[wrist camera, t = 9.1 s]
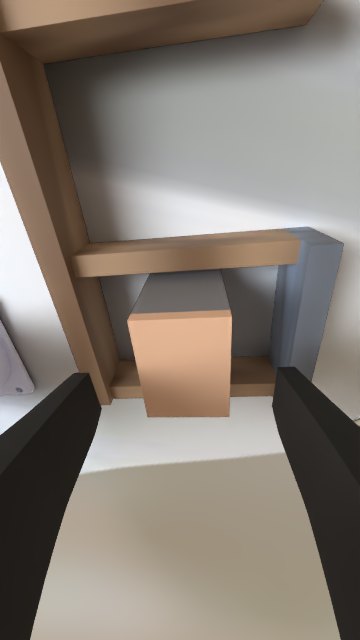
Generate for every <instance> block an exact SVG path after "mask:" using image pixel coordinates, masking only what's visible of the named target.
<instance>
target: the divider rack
mask: <svg viewBox="0 0 360 640" xmlns="http://www.w3.org/2000/svg"><path fill="white" fill-rule="evenodd" d="M323 1H324V0H0V162H1V165H2V167H3V170H4V173H5V175H6V178H7V181H8V183H9V186H10V189H11V191H12V194H13V197H14V199H15V202H16V205H17V207H18V210H19V213H20V215H21V218H22V221H23V223H24V226H25V229H26V231H27V234H28V237H29V239H30V242H31V245H32V247H33V250H34V253H35V255H36V258H37V261H38V263H39V266H40V269H41V271H42V274H43V277H44V279H45V282H46V285H47V287H48V290H49V293H50V295H51V298H52V301H53V303H54V306H55V309H56V311H57V314H58V317H59V319H60V322H61V325H62V327H63V330H64V333H65V335H66V338H67V341H68V343H69V346H70V349H71V351H72V354H73V357H74V359H75V362H76V365H77V367H78V370H79V373H89V374H90V377H91V380H92V383H93V385H94V388H95V391H96V394H97V397H98V400H99V403H100V405H111V403H112V400H113V399H119V398H144V397H143V393H142V388H141V383H140V379H139V374H138V369H137V365H136V360H122V361H120V357H119V354H118V350H117V346H116V342H115V338H114V334H113V331H112V327H111V323H110V319H109V315H108V311H107V307H106V304H105V300H104V296H103V292H102V288H101V284H100V281H99V277H98V276H110V275H126V274H142V273H157V272H173V271H189V270H205V269H221V268H236V267H252V266H268V265H279V267H278V276H277V284H276V293H275V302H274V311H273V320H272V328H271V337H270V346H269V355H268V356H254V357H231V371H230V397H247V396H274V388H275V381H276V374H277V367H294V366H295V367H296V368H297V369H298V370H299V371H300V372H301V373H302V374H303V375H304V376H305V377H306V378H307V379H308V380H309V381H310V382H311V381H312V377H313V373H314V369H315V364H316V360H317V356H318V352H319V348H320V343H321V339H322V335H323V331H324V326H325V322H326V318H327V314H328V310H329V305H330V301H331V297H332V293H333V288H334V284H335V280H336V276H337V272H338V267H339V263H340V259H341V255H342V251H343V246H344V243H342V242H340V241H338V240H336V239H333V238H331V237H329V236H327V235H325V234H323V233H320V232H318V231H316V230H314V229H312V228H310V227H298V228H285V229H272V230H259V231H246V232H233V233H220V234H207V235H194V236H180V237H167V238H154V239H141V240H128V241H115V242H102V243H90V242H89V238H88V234H87V231H86V227H85V223H84V219H83V215H82V211H81V208H80V204H79V200H78V196H77V192H76V188H75V184H74V181H73V177H72V173H71V169H70V165H69V161H68V158H67V154H66V150H65V146H64V142H63V138H62V134H61V131H60V127H59V123H58V119H57V115H56V111H55V108H54V104H53V100H52V96H51V92H50V88H49V84H48V81H47V77H46V73H45V69H44V65H43V64H45V63H52V62H58V61H65V60H72V59H79V58H85V57H92V56H99V55H105V54H112V53H119V52H126V51H132V50H139V49H146V48H152V47H159V46H166V45H173V44H179V43H186V42H193V41H199V40H206V39H213V38H220V37H226V36H233V35H240V34H246V33H253V32H260V31H267V30H273V29H280V28H287V27H293V26H300V25H306V24H307V23H308V21H309V20H310V18H311V17H312V16H313V14H314V13H315V12H316V10H317V9H318V7H319V6H320V5H321V3H322V2H323Z"/></svg>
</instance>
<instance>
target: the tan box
mask: <svg viewBox="0 0 360 640" xmlns="http://www.w3.org/2000/svg"><path fill="white" fill-rule="evenodd" d="M127 323H128V327H129V332H130V337H131V341H132V346H133V351H134V355H135V360H136V365H137V369H138V374H139V379H140V383H141V388H142V393H143V397H144V402H145V407H146V411H147V416H148V417H229V406H230V371H231V337H232V314H231V310H230V306H229V302H228V298H227V294H226V290H225V286H224V282H223V278H222V274H221V270H220V269H205V270H189V271H173V272H157V273H150V274H149V276H148V278H147V280H146V283H145V285H144V287H143V289H142V291H141V293H140V295H139V297H138V299H137V301H136V303H135V306H134V308H133V310H132V312H131V314H130V316H129V318H128V320H127Z"/></svg>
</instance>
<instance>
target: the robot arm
mask: <svg viewBox="0 0 360 640" xmlns="http://www.w3.org/2000/svg"><path fill="white" fill-rule="evenodd" d="M34 389H35V387H34V385H33V383H32V381H31V379H30V377H29V375H28V373H27V371H26V369H25V367H24V365H23V363H22V361H21V359H20V357H19V355H18V353H17V352H16V350H15V348H14V346H13V344H12V342H11V340H10V338H9V336H8V334H7V332H6V330H5V328H4V326H3V324H2V322H1V320H0V395H13V394H31V393H32V392H33V391H34ZM272 408H273V412H274V416H275V421H276V425H277V428H278V432H279V435H280V438H281V441H282V444H283V446H284V449H285V452H286V455H287V457H288V460H289V463H290V465H291V468H292V471H293V473H294V476H295V479H296V481H297V484H298V487H299V489H300V492H301V495H302V498H303V500H304V504H305V507H306V510H307V513H308V516H309V519H310V523H311V526H312V530H313V534H314V537H315V541H316V544H317V548H318V552H319V555H320V559H321V563H322V567H323V570H324V574H325V578H326V582H327V586H328V590H329V593H330V597H331V601H332V605H333V609H334V614H335V618H336V621H337V626H338V629H339V633H340V638H341V640H360V426H358V425H357V424H356V423H355V422H354V421H353V420H351V419H350V418H349V417H348V416H347V415H346V414H345V413H344V412H342V411H341V410H340V409H339V408H338V407H337V406H336V405H335V404H334V403H332V402H331V401H330V400H329V399H328V398H327V397H326V396H325V395H324V394H323V393H322V392H321V391H320V390H319V389H318V388H317V387H316V386H314V385H313V384H312V383H311V382H310V381H309V380H308V379H307V378H306V377H305V376H304V375H303V374H302V373H301V372H300V371H299V370H298V369H297V368H296V367H295V366H294V367H277V374H276V381H275V388H274V396H273V403H272ZM101 409H102V408H101V406H100V403H99V400H98V397H97V394H96V391H95V388H94V385H93V383H92V380H91V377H90V374H89V373H74V374H72V375H71V376H70V377H69V378H68V379H66V380H65V381H64V382H63V383H62V384H61V385H59V386H58V387H57V388H56V389H55V390H54V391H53V392H51V393H50V394H49V395H48V396H47V397H46V398H45V399H43V400H42V401H41V402H40V403H39V404H38V405H36V406H35V407H34V408H33V409H32V410H31V411H30V412H28V413H27V414H26V415H25V416H24V417H22V418H21V419H20V420H19V421H17V422H16V423H15V424H14V425H13V426H11V427H10V428H9V429H8V430H6V431H5V432H4V433H3V434H1V435H0V640H30V637H31V633H32V629H33V624H34V620H35V616H36V613H37V609H38V605H39V601H40V597H41V593H42V589H43V585H44V581H45V577H46V574H47V570H48V567H49V563H50V560H51V556H52V553H53V549H54V546H55V542H56V539H57V536H58V532H59V529H60V526H61V523H62V519H63V516H64V512H65V510H66V507H67V504H68V501H69V498H70V496H71V493H72V491H73V488H74V486H75V483H76V481H77V478H78V476H79V473H80V471H81V468H82V466H83V463H84V461H85V458H86V456H87V453H88V451H89V448H90V446H91V443H92V441H93V438H94V435H95V432H96V429H97V425H98V421H99V417H100V413H101Z"/></svg>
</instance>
